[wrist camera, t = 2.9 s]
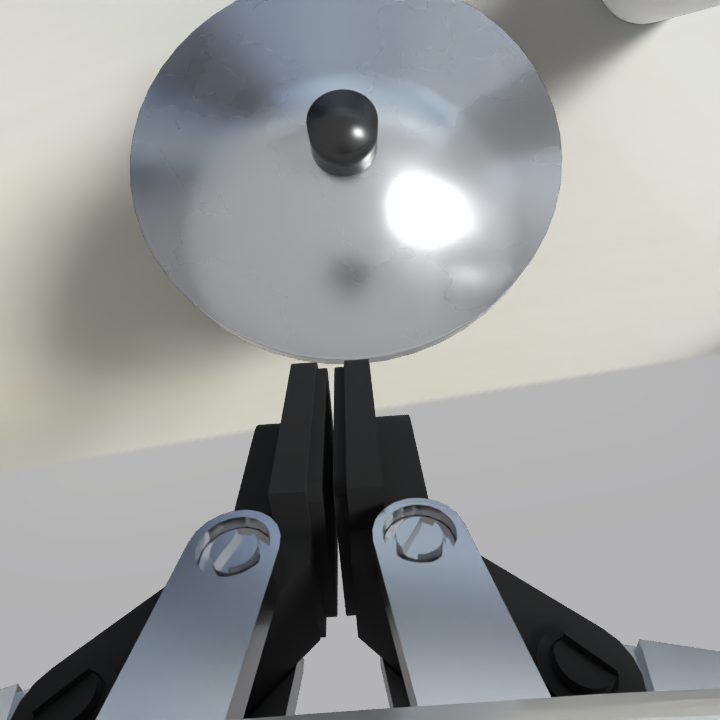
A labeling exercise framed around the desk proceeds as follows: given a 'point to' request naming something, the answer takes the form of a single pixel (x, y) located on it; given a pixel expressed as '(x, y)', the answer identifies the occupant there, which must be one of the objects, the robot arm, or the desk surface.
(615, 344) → the desk surface
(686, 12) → the cylindrical container
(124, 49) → the desk surface
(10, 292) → the desk surface
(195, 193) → the lid
